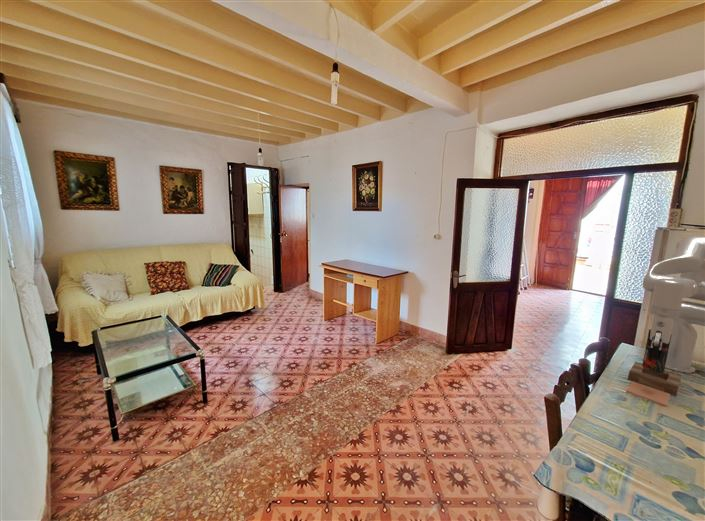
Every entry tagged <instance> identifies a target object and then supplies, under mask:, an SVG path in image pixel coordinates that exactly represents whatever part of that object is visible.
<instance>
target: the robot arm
mask: <svg viewBox="0 0 705 521" xmlns="http://www.w3.org/2000/svg"><path fill="white" fill-rule="evenodd" d="M675 245H676V250H675V251H674V253H673V255H672V257H671V258H670V257H669V258H667V259H664V260H661V261H659V262H657V263H654V264H653V265H652V266H651V267H650V268H649V269H648V271H647V272H646V274H645V276H644V279H643V281H642V287H643V289H644V290H645V291H646V292H648V293H653V294H652V298H651V303H650V308H649V313H650V314H652V315H653V316H652V320H651V321H652V322H651V326H650V329H651V333H650V339H651V340H652V343H651V347H650V349H649V355H648V357H650V358H653V359H657V360H660V359H661V354H662V350H661V349H662V344H663V342H664V343H666V344H668V343H669V341H670V345H669V350H668V355H667V360H666V365H665V369H669V370H672V371H675V372H680V373H684V372H685V374H693V373H692V372H694V373H695V372H696V368H695V367H694V366H692V362H693V358H694V353H695V348H696V345H697V339H698V331H697V329H696V328H695V327H694V326H693V325H697V326H702V327H705V303H700V302H693V301H688V300H683V299H690V300H695V301H696V300H697V301H702V302H705V236H704V235H703V236H701V235H693V236H692V235H691V236H687V237H684V238H683V239H680V240H679V241H677V243H676V244H675ZM679 274H680V276H674V275H679ZM661 333H662V334H661ZM671 334H672V336H671ZM652 337H653V338H652ZM654 337H655V338H654ZM670 337H671V340H670ZM654 339H655V340H654ZM660 340H662V341H661V342H660ZM659 343H660V344H659Z"/></svg>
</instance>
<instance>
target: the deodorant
mask: <svg viewBox="0 0 705 521" xmlns="http://www.w3.org/2000/svg"><path fill="white" fill-rule="evenodd" d="M650 333H651V328H650V329H648V334H647V339H646V344H645V349H644V355H643V359H642V367H644V368H645V369H647V370H650V371H653V372H658V373H663V372H664V370H666V367H665V365H666V360H667V355H668V350H669V345H670V341H669V343H668V344H666V343H664V342H663V344H662V349H661V350H662V354H661V359H660V360H657V359H653V358H650V357H648V355H649V349H650V347H651V343H652V340H651V339H650ZM661 334H662V333H661ZM671 336H672V334H671ZM652 338H653V337H652ZM654 338H655V337H654ZM654 340H655V339H654ZM670 340H671V337H670ZM661 341H662V340H660V342H661ZM659 344H660V343H659Z"/></svg>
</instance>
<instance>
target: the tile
mask: <svg viewBox="0 0 705 521" xmlns="http://www.w3.org/2000/svg"><path fill="white" fill-rule="evenodd" d="M626 394H630V395H633V396H636V397H639V398H641V399H643V400H647V401H648V402H652V403H655V404H658V405H660V406H663V407H665V408H666V407H667V405H668V403H669V400H670V397H671V394H669V393H666V392H663V391H660V390H657V389H654V388H651V387H648V386H645V385H642V384H639V383H636V382H633V381H630V384H629V386H627V389H626Z"/></svg>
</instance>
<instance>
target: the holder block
mask: <svg viewBox="0 0 705 521" xmlns="http://www.w3.org/2000/svg"><path fill="white" fill-rule="evenodd" d="M642 364H643V362H642V363H641V362H639V361H635V362H634V363H633V365H632V367H631V368H630V369H629V372H628V375H627V381H630V382H632V381H633V382H636V383H639V384H642V385H645V386H648V387H651V388H654V389H657V390H660V391H663V392H666V393H669V394H670V396H674V397H677V394H678V391H679V388H680V383H681V380H682V375H681V374H679V373H676V372H672V371H670V370H666V369H664V372H663V373H658V372H653V371H650V370H647V369H645V368H644V367H642Z"/></svg>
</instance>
